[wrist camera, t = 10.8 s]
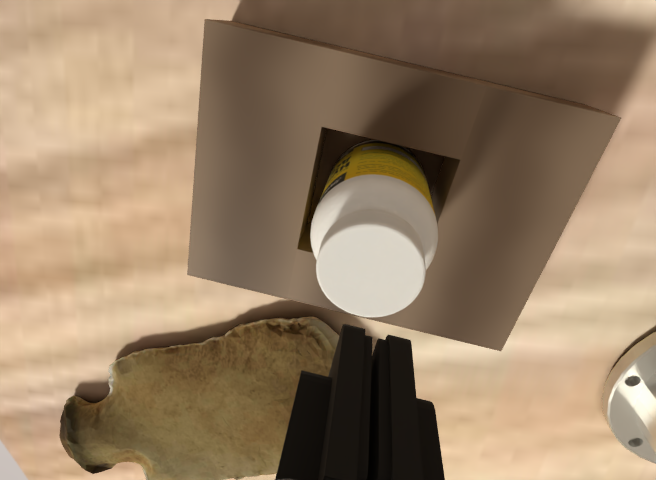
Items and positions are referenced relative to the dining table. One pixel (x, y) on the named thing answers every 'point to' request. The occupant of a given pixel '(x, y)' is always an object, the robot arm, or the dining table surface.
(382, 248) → the supplement bottle
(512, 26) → the dining table surface
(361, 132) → the socket block
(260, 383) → the stone tool
